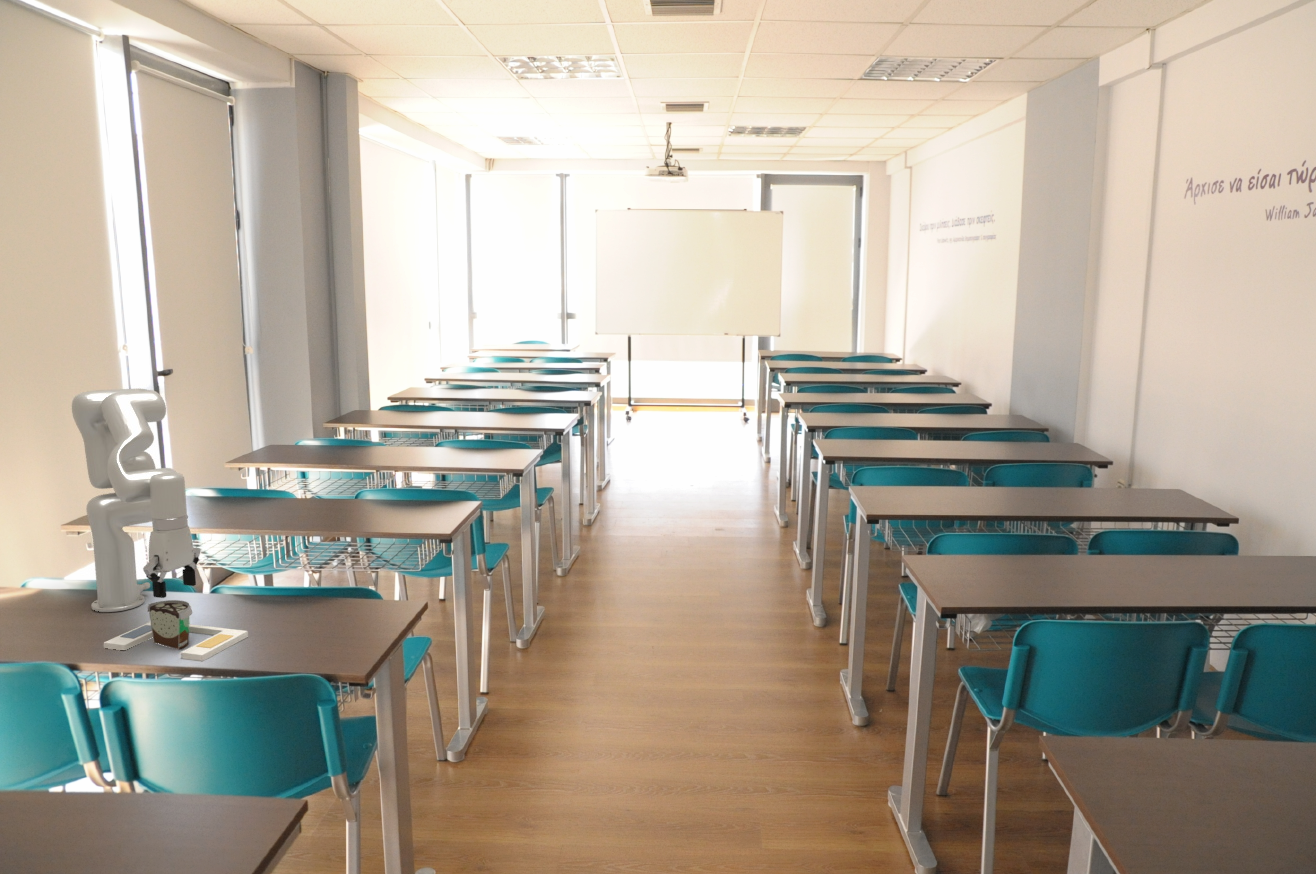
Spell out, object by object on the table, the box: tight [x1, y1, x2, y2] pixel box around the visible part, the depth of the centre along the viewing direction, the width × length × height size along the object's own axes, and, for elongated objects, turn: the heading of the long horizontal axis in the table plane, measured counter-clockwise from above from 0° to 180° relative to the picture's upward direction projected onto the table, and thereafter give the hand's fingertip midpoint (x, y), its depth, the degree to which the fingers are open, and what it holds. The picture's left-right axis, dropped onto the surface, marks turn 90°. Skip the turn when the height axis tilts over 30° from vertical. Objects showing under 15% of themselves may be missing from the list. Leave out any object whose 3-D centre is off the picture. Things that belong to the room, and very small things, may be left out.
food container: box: [146, 599, 193, 651], centre depth 218 cm, size 12×6×10 cm, turn 65°
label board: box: [103, 621, 249, 662], centre depth 219 cm, size 16×28×2 cm, turn 77°
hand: (175, 591), depth 216 cm, fingers open, 9 cm apart
